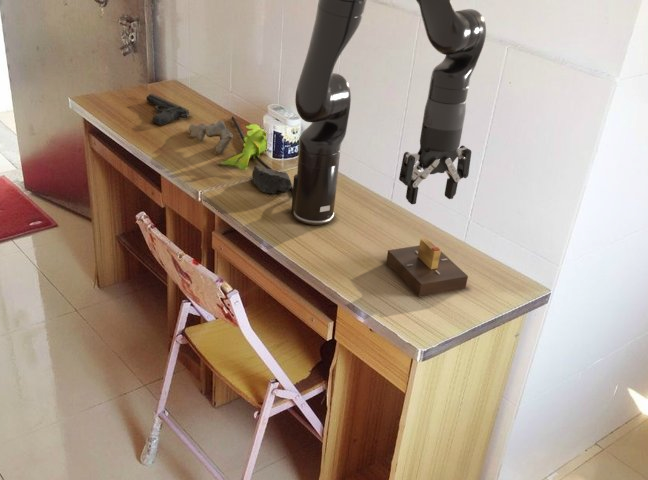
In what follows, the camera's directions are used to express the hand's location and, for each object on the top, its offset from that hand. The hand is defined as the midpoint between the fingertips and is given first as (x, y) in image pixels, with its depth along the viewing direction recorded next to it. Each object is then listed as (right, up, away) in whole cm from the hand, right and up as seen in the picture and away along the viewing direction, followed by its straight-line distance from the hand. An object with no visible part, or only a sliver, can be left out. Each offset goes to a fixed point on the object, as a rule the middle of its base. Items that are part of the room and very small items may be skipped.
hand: (430, 200), depth 155 cm
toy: (-36, +18, +54) cm, 68 cm away
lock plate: (0, -15, +8) cm, 17 cm away
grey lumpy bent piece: (-50, +24, +62) cm, 83 cm away
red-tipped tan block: (+1, -12, +6) cm, 14 cm away
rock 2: (-32, +8, +40) cm, 52 cm away
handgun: (-66, +36, +79) cm, 110 cm away
